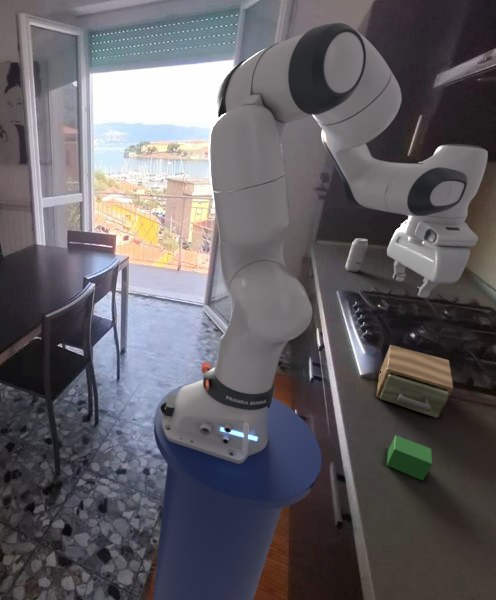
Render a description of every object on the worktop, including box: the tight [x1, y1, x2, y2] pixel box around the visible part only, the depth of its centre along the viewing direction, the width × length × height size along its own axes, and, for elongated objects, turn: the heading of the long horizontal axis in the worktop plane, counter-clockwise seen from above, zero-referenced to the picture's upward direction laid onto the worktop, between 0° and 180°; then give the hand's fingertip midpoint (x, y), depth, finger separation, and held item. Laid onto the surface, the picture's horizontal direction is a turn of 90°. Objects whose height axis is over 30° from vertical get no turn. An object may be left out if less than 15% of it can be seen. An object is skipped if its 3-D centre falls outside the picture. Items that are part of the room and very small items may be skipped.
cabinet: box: [375, 344, 454, 419], centre depth 88 cm, size 14×12×9 cm
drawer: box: [379, 373, 448, 418], centre depth 85 cm, size 17×10×7 cm, turn 141°
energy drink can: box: [345, 237, 369, 273], centre depth 168 cm, size 6×6×15 cm
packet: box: [386, 435, 433, 481], centre depth 69 cm, size 4×6×4 cm
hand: (408, 287), depth 81 cm, fingers open, 8 cm apart
